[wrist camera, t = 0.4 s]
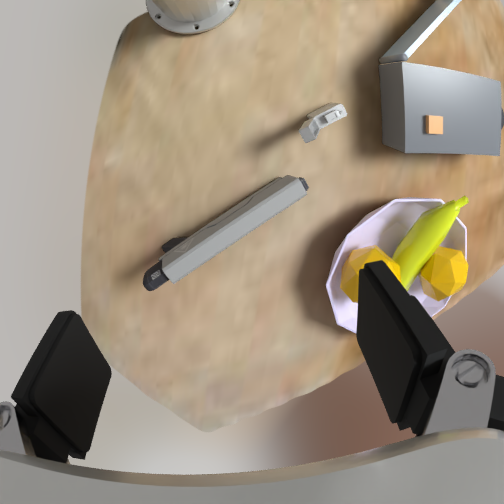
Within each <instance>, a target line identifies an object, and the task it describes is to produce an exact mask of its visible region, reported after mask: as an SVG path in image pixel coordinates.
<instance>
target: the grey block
mask: <svg viewBox="0 0 504 504" xmlns="http://www.w3.org/2000/svg"><path fill="white" fill-rule="evenodd" d="M379 77H380V92H381V111H382V144H384V145H386V146H389V147H391V148H394V149H396V150H399V151H401V152H404V153H449V154H475V155H493V156H500V143H501V129H502V128H503V125H504V113H503V110H502V107H501V82H500V81H496V80H493V79H489V78H485V77H481V76H477V75H473V74H469V73H464V72H460V71H455V70H450V69H444V68H439V67H433V66H427V65H421V64H414V63H406V62H398V63H390V64H383V65H379Z"/></svg>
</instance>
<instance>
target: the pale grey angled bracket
mask: <svg viewBox="0 0 504 504" xmlns="http://www.w3.org/2000/svg"><path fill="white" fill-rule="evenodd" d="M345 116H347V112H346V110H345V108H344V107H343V105H342V104H339V103H329V104H327V105H325V106H323V107H321V108H319V109H317V110H315V111H313V112H311V113H310V114H308V115H307V117H308V119H309V120H307V121H305V122H304V123H303V125H302V126H301V128H300V129H299V133H300V134H301V136H302V138H303V140H304V142H305V143H308V142H310V141H312V140H315V139H316V138H317V136H318V133H319V131H320V128H323V127H325V126H327V125H329V124H331V123H333V122H335V121H337V120H339V119H341V118H343V117H345Z"/></svg>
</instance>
